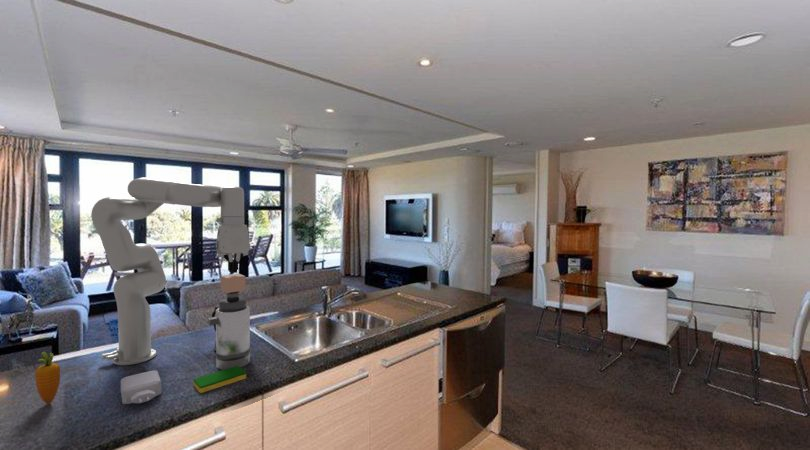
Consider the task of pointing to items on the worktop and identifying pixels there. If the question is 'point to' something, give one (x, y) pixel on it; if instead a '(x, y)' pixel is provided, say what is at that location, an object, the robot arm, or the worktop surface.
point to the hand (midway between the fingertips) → (233, 272)
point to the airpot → (232, 332)
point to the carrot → (47, 378)
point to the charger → (140, 387)
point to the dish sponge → (219, 379)
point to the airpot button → (232, 283)
